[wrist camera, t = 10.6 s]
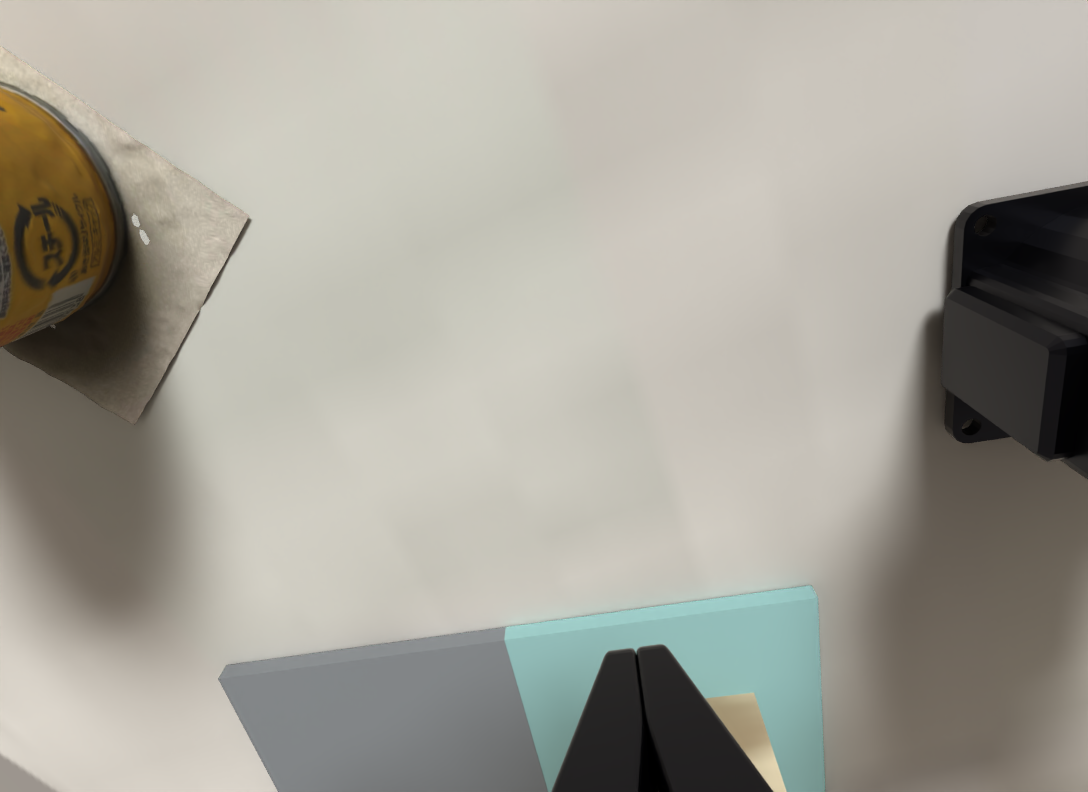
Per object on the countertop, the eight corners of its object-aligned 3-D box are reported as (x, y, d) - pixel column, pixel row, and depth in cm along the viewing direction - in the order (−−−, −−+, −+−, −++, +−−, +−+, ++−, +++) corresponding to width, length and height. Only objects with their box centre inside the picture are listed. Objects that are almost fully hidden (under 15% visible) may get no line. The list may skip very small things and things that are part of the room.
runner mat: (811, 585, 21) (818, 598, 20) (821, 826, 26) (827, 842, 25) (226, 665, 23) (218, 678, 22) (335, 875, 28) (331, 891, 27)
